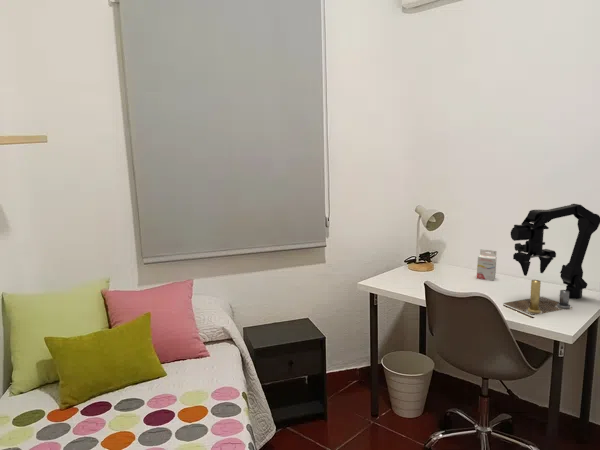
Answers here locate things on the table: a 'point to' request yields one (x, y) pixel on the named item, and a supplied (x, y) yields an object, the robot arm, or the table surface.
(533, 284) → the brass pin
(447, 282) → the table surface
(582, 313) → the table surface
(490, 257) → the ink cartridge box
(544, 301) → the brown flat sheet
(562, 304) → the fixed pin
